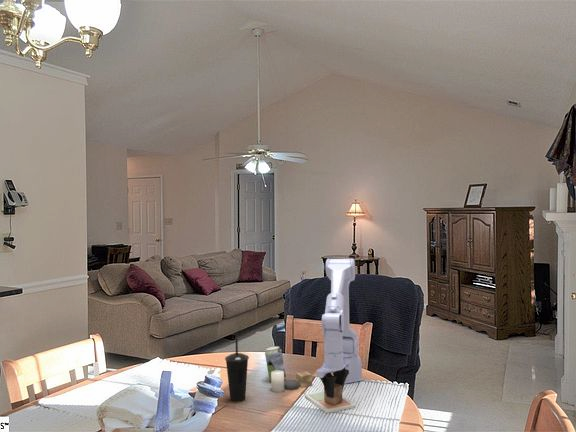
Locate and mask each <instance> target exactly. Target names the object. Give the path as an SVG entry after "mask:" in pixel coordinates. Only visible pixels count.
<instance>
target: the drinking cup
mask: <svg viewBox="0 0 576 432" xmlns="http://www.w3.org/2000/svg"><path fill="white" fill-rule="evenodd" d="M238 341H239V339H238V337H235V352H233V353H231V354H229V355H226V356H225V358H224V360H225V363H226V364H225V365H226V371H227V372H226V373H227V381H228V382H227V383H228V389H229V397H230V398H229V399H230V402H234V403H240V402H244V401H246V393H247V380H248V379H247V378H248V366H249V365H248V364H249V358H250V356H249V355H247V354H244V353H241V352H239V348H238V347H239V345H238V343H239V342H238Z"/></svg>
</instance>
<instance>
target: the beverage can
mask: <svg viewBox="0 0 576 432" xmlns="http://www.w3.org/2000/svg"><path fill="white" fill-rule="evenodd" d="M282 352H283V351H282V349H281V348H280V346H270V347H267V348H266V350H265V353H264V355H265V361H266V367H267V374H268V380H269V381H271V372H272V371H275V370H281V371H284V379H286V377H287V375H286V374H287V373H286V369H285V363H284V358H283V357H284V356H283V353H282Z"/></svg>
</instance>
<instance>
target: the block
mask: <svg viewBox="0 0 576 432" xmlns="http://www.w3.org/2000/svg"><path fill="white" fill-rule="evenodd" d="M323 391H324V402H326V403H330V404H333V405H336V404H338V403H340V402H342V401H343V398H342V397H343V392H342V385H339V384H336V383H335V385H334V395H333V398H330V397H327V395H326V392H325V388H324V387H323Z"/></svg>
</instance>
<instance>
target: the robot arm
mask: <svg viewBox="0 0 576 432" xmlns="http://www.w3.org/2000/svg"><path fill="white" fill-rule="evenodd" d="M325 274H326V277H327V278H328V279H329V281H330V293H328V295H327V296H326V302H325V309H324V313H323V314H321V329H322V337H323V345H324V346H323V348H324V349H323V351H324V352H323V353H324V356H323V357H324V362H323V363H322V366H321V367H320V368H319V369H316V371H315V372H316V377H317V378H319V379H320V381H321V383H322V384H323V389H324V388H325V392H326V395H327V397H330V398H333V395H334V385H335V383H336V384H339V385H342V393H344V387H345V385H346V384H352V383H356V382H361V381H364V378H363V372H362V371H363V367H362V359H361V356H360V355H359V354H358V353H359V340H358V339H359V338H358V334H357V331H355V330H354V329H353V328H352V327H350V298H349V297H350V292H349V291H350V289H349V288H350V283H351V282H353V281H355V280H356V279H355V278H356V261H355V259H354V258H330V257H329V258H327V259H326V261H325Z"/></svg>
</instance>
